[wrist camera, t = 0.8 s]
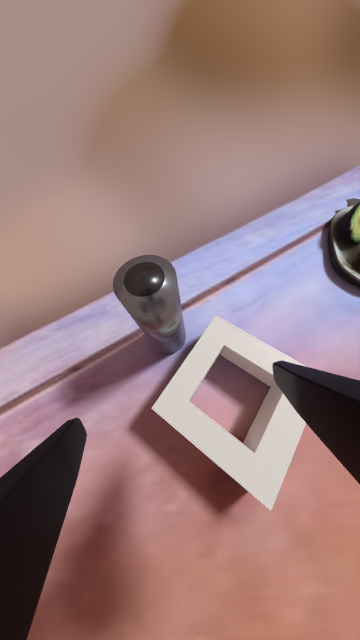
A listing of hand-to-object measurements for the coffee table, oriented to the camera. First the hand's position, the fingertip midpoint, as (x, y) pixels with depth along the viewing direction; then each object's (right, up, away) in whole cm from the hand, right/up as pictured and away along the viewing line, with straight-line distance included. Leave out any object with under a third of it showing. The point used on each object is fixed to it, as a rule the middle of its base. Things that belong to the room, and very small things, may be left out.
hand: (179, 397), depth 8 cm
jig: (+6, -5, +12) cm, 14 cm away
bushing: (-1, +1, +15) cm, 15 cm away
